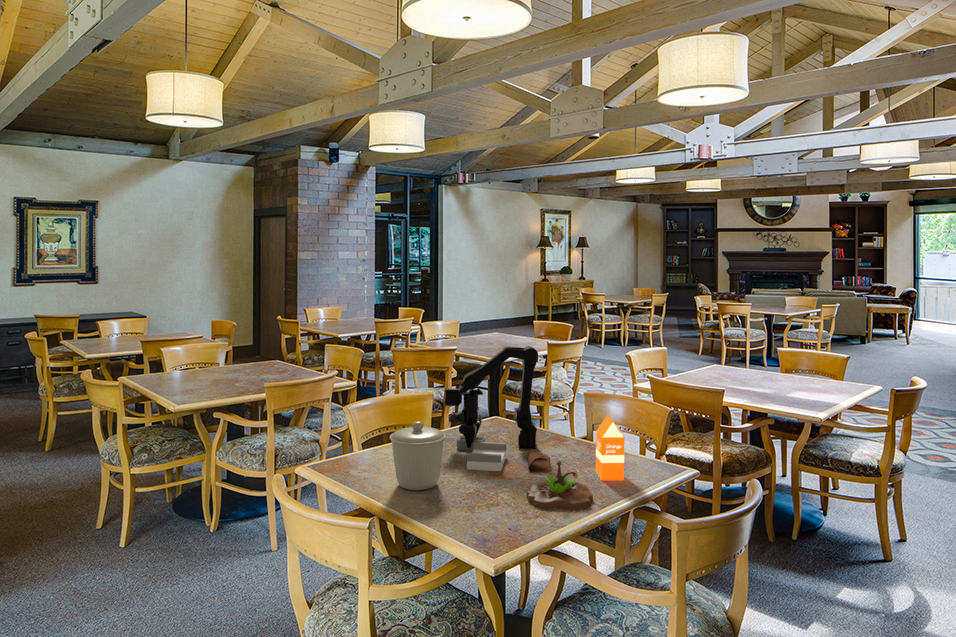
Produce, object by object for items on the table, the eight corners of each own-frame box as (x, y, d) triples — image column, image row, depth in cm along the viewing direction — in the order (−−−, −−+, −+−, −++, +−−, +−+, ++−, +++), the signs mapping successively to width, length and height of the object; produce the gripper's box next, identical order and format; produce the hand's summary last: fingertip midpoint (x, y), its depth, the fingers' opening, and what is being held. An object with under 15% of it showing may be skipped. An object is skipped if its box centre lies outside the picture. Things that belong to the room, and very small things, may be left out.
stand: (506, 457, 235) (506, 442, 234) (500, 471, 219) (501, 455, 219) (474, 455, 237) (474, 441, 236) (466, 469, 221) (466, 454, 220)
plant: (590, 488, 203) (590, 454, 202) (594, 512, 184) (595, 474, 183) (528, 486, 205) (528, 452, 205) (526, 509, 186) (526, 472, 185)
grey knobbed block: (485, 447, 249) (485, 434, 248) (481, 451, 243) (481, 438, 243) (460, 445, 251) (460, 433, 250) (456, 449, 245) (456, 436, 245)
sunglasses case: (553, 472, 218) (543, 455, 217) (535, 482, 218) (526, 465, 218) (550, 456, 236) (540, 441, 235) (533, 465, 236) (524, 450, 236)
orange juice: (617, 471, 219) (618, 415, 217) (624, 480, 210) (625, 421, 208) (595, 471, 219) (595, 415, 217) (600, 480, 210) (601, 421, 208)
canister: (383, 493, 198) (382, 427, 196) (398, 474, 215) (397, 414, 214) (439, 496, 195) (439, 430, 193) (450, 477, 213) (450, 416, 211)
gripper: (455, 399, 256) (455, 437, 257) (445, 410, 238) (445, 450, 239) (482, 400, 254) (482, 438, 256) (474, 411, 236) (474, 452, 237)
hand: (470, 444), depth 247 cm, fingers open, 9 cm apart
